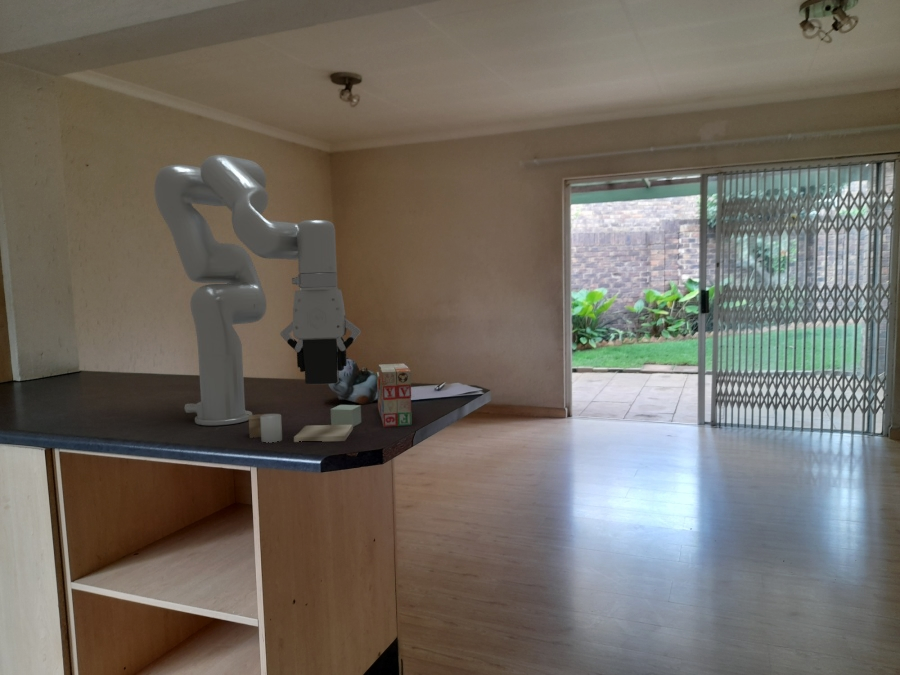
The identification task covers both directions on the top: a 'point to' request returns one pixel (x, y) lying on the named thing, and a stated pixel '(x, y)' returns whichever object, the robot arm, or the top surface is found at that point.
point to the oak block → (255, 425)
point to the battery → (320, 361)
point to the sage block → (346, 415)
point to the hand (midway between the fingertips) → (322, 369)
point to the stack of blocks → (394, 394)
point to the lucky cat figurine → (355, 384)
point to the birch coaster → (324, 433)
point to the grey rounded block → (271, 428)
